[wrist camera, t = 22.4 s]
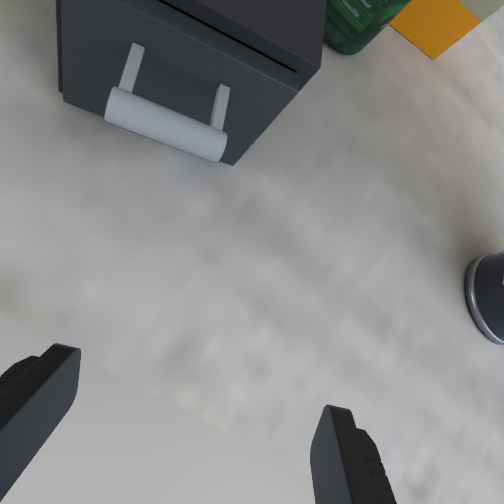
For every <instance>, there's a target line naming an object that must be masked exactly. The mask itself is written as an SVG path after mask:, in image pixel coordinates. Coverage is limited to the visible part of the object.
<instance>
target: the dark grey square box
mask: <svg viewBox="0 0 504 504" xmlns="http://www.w3.org/2000/svg"><path fill="white" fill-rule="evenodd" d="M164 1H166V2H168V3H169V4H171V5H173V6H175V7H177V8H179V9H181V10H183V11H185V12H186V13H188V14H190V15H192V16H194V17H196V18H198V19H200V20H202V21H203V22H205V23H207V24H209V25H211V26H213V27H215V28H217V29H218V30H220V31H222V32H224V33H226V34H228V35H230V36H232V37H234V38H235V39H237V40H239V41H241V42H243V43H245V44H247V45H249V46H251V47H252V48H254V49H256V50H258V51H260V52H262V53H264V54H266V55H268V56H269V57H271V58H273V59H275V60H277V61H279V62H280V63H279V64H280V65H282V66H284V67H286V68H287V69H289V70H291V71H293V72H295V73H297V74H299V75H300V83H299V91H300V90H301V89H302V88H303V86H304V85H305V84H306V83H307V82H308V81H309V80H310V78H312V77H313V75H314V74H315V73H316V72H317V71H318V70H319V69H320V66H321V56H322V45H323V35H324V24H325V13H326V3H327V0H164ZM56 20H57V49H58V79H59V92H61V93H63V59H62V4H61V0H56ZM299 91H298V92H299ZM240 158H241V157H240Z"/></svg>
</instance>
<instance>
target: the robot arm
mask: <svg viewBox="0 0 504 504" xmlns="http://www.w3.org/2000/svg"><path fill="white" fill-rule="evenodd" d="M466 296H467V301H468V305H469V308H470V311H471V314H472V316H473V318H474V320H475V322H476V324H477V325H478V327H479V328H480V330H481V331H482V332H483V333H484V335H485V336H486V337H488V338H489V339H490V340H492V341H493V342H495V343H497V344H501V345H504V252H499V253H495V254H486V255H482V256H479V257H477V258H475V259H474V260H473V261H472V263H471V264H470V266H469V268H468V271H467V275H466ZM80 360H81V350H80V349H79V348H75V347H71V346H66V345H62V344H57V343H55V344H53V345H52V346H51V347H50V348H49V349H48V350H47V351H46V352H44V353H43V354H42V355H41V356H40V357H37V356H30V357H28V358H26V359H23V360H21V361H19V362H17V363H15V364H13V365H12V366H11V367H10V368H9V369H8V370H7V371H5V372H4V373H3V374H2V375H1V377H0V502H1V500H2V499H3V498H4V496H5V495H6V493H7V492H8V491H9V490H10V488H11V487H12V485H13V484H14V483H15V482H16V480H17V479H18V477H19V476H20V475H21V473H22V472H23V471H24V469H25V468H26V467H27V465H28V464H29V463H30V461H31V460H32V458H33V457H34V456H35V455H36V453H37V452H38V450H39V449H40V448H41V447H42V445H43V444H44V443H45V441H46V440H47V438H48V437H49V436H50V434H51V433H52V432H53V430H54V429H55V428H56V426H57V425H58V424H59V422H60V421H61V420H62V418H63V417H64V416H65V414H66V413H67V412H68V410H69V409H70V407H71V405H72V403H73V401H74V399H75V396H76V393H77V388H78V379H79V370H80ZM310 465H311V472H312V480H313V488H314V495H315V503H316V504H397V503H396V500H395V497H394V495H393V492H392V489H391V486H390V483H389V481H388V478H387V476H386V475H385V473H386V472H385V469H384V467H383V464H382V463H381V458H380V455H379V452H378V450H377V447H376V444H375V443H374V442H373V440H372V439H371V438H370V436H369V435H368V434H367V432H366V431H365V430H362V429H358V428H356V425H355V422H354V418H353V415H352V412H351V410H349V409H345V408H341V407H336V406H332V405H326V406H325V407H324V409H323V412H322V415H321V418H320V421H319V424H318V426H317V429H316V432H315V435H314V438H313V441H312V445H311V451H310Z"/></svg>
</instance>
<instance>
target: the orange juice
mask: <svg viewBox="0 0 504 504" xmlns="http://www.w3.org/2000/svg"><path fill="white" fill-rule="evenodd" d="M503 5H504V0H411V1H410V2H409V3H408V4H407V5H406V6H405V7H404V8H403V9H402V10H401V11H400V12H399V13H398V14H397V15H396V16H395V17H394V18H393V19H392V20H391V21H390V22H389V24H390V25H391V26H392V27H393V28H395V29H396V30H397V31H398V32H400V33H401V34H402V35H403V36H405V37H406V38H407V39H408V40H409V41H411V42H412V43H413V44H414V45H416V46H417V47H418V48H419V49H420V50H422V51H423V52H424V53H425V54H427V55H428V56H429V57H430V58H432V59H433V60H434V59H435V58H437V57H438V56H439V55H440V54H442V53H443V52H444V51H445V50H447V49H448V48H449V47H451V46H452V45H453V44H454V43H456V42H457V41H458V40H459V39H461V38H462V37H463V36H464V35H466V34H467V33H468V32H469V31H471V30H472V29H473V28H474V27H476V26H477V25H478V24H479V23H481V22H483V21H484V20H485V19H486V18H488V17H489V16H490V15H492V14H493V13H494V12H495V11H497V10H498V9H499V8H500V7H502V6H503Z"/></svg>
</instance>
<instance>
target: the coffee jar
mask: <svg viewBox="0 0 504 504" xmlns="http://www.w3.org/2000/svg"><path fill="white" fill-rule="evenodd" d="M410 1H411V0H327V3H326V13H325V24H324V35H323V40H324V41H326V42H327V43H328V44H329V45H331V46H332V47H334V48H335V49H337V50H338V51H340V52H342V53H344V54H346V55H352V54H355V53H357V52H359V51H360V50H361V49H363V48H364V47H365V46H366V45H367V44H368V43H369V42H370V41H371V40H372V39H373V38H374V37H375V36H376V35H377V34H378V33H379V32H380V31H381V30H382V29H383V28H384V27H385V26H386V25H387V24H388V23H389V22H390V21H391V20H392V19H393V18H394V17H395V16H396V15H397V14H398V13H399V12H400V11H401V10H402V9H403V8H404V7H405V6H406V5H407V4H408V3H409V2H410Z"/></svg>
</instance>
